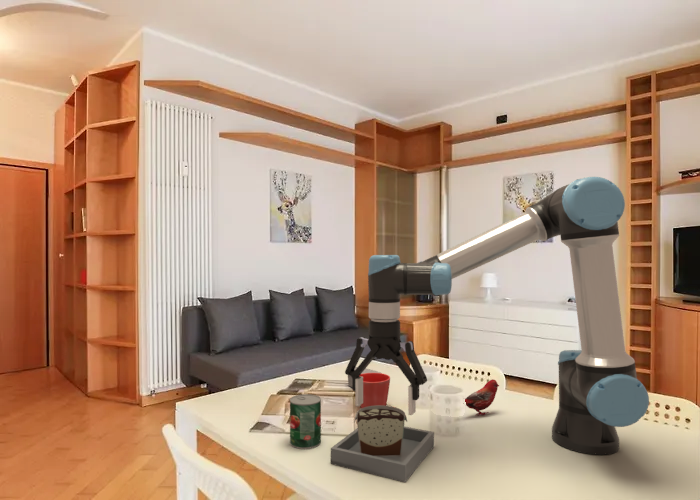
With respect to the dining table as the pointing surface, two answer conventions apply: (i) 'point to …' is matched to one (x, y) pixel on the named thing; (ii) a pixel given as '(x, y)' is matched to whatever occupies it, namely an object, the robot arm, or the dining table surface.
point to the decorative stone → (361, 373)
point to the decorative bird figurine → (482, 397)
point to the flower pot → (375, 389)
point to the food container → (380, 430)
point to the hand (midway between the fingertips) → (384, 409)
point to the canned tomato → (305, 421)
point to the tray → (390, 467)
